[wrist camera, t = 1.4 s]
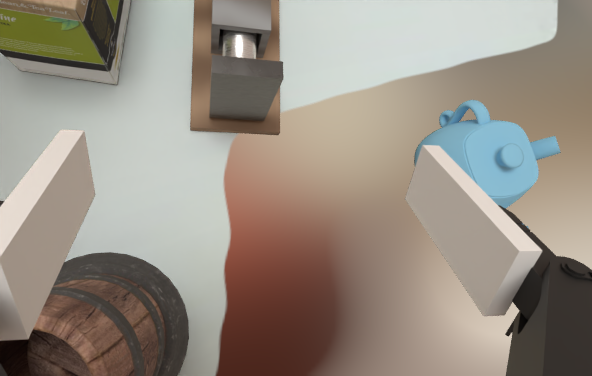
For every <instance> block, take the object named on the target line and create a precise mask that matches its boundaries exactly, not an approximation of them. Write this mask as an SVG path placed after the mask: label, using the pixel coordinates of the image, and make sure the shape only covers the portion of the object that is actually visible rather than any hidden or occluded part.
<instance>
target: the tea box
mask: <svg viewBox="0 0 592 376" xmlns="http://www.w3.org/2000/svg"><path fill="white" fill-rule="evenodd" d="M130 2H131V0H0V52H1V53H2V54H3V55H4V56H5V57H6V58H7V59H8V60H9V61H10V62H11V63H13V64H14V65H15V66H16V67H17V68H18V69H19V70H22V71H28V72H34V73H41V74H49V75H56V76H62V77H68V78H76V79H82V80H89V81H95V82H102V83H109V84H117V82H118V75H119V69H120V63H121V57H122V50H123V44H124V38H125V32H126V27H127V21H128V14H129V8H130Z"/></svg>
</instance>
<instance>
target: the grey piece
mask: <svg viewBox="0 0 592 376" xmlns="http://www.w3.org/2000/svg"><path fill="white" fill-rule="evenodd" d="M282 80H283V62H281V61H271V60H261V59H256V33H251V32H242V31H233V30H224V29H223V54H222V56H220V55H212V66H211V87H210V111H209V118H222V119H238V120H253V121H264V120H265V118H266V116H267V113H268V111H269V109H270V107H271V105H272V102H273V100H274V98H275V96H276V94H277V91H278V89H279V87H280V85H281V82H282Z"/></svg>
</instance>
